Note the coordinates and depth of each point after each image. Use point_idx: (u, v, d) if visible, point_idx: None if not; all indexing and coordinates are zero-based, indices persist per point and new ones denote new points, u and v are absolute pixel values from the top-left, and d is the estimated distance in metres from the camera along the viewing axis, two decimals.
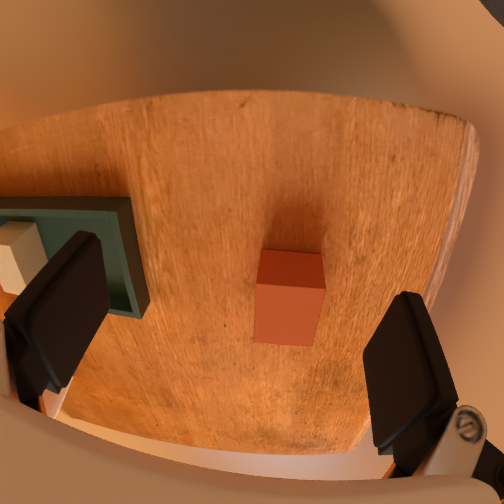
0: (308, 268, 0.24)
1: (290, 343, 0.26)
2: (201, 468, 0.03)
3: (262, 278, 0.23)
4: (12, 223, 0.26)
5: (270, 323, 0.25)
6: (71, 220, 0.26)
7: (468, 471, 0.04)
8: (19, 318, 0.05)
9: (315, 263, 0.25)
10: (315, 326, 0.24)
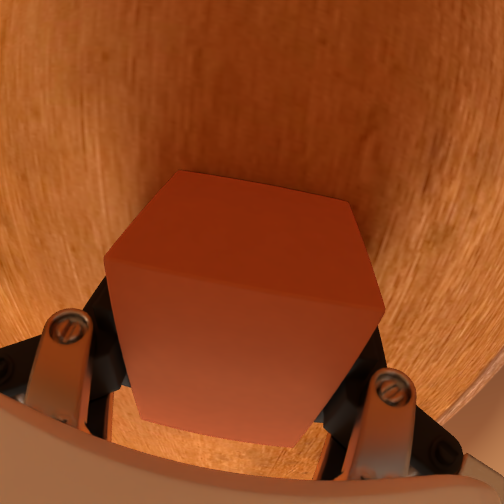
0: (315, 229, 0.07)
1: (236, 438, 0.08)
2: (201, 468, 0.03)
3: (136, 243, 0.06)
4: None
5: (174, 392, 0.07)
6: None
7: (386, 436, 0.05)
8: None
9: (336, 220, 0.08)
10: (313, 415, 0.07)
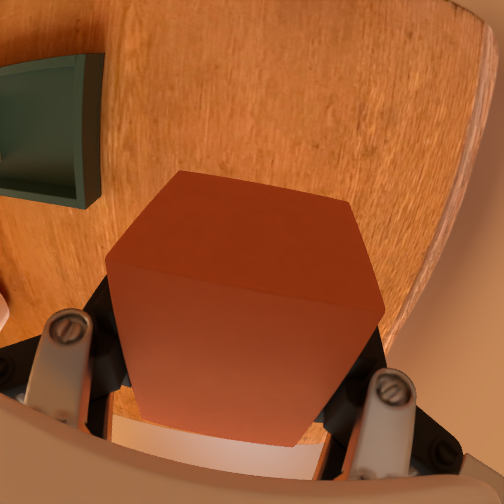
0: (315, 230, 0.07)
1: (237, 438, 0.09)
2: (201, 468, 0.03)
3: (137, 243, 0.06)
4: None
5: (175, 392, 0.07)
6: (34, 86, 0.18)
7: (386, 436, 0.05)
8: (112, 309, 0.06)
9: (336, 220, 0.08)
10: (314, 414, 0.07)
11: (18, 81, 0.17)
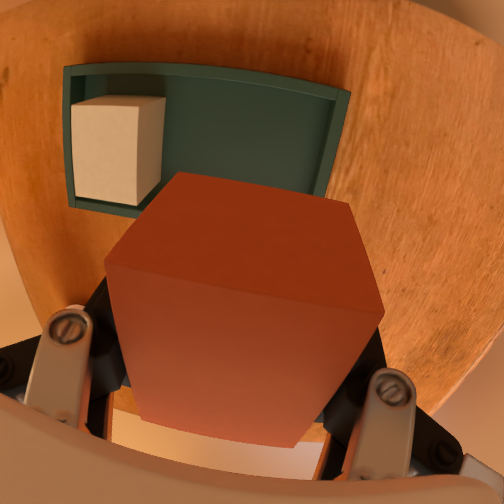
0: (315, 231, 0.07)
1: (236, 439, 0.09)
2: (201, 468, 0.03)
3: (136, 245, 0.06)
4: (119, 95, 0.19)
5: (174, 393, 0.07)
6: (240, 100, 0.19)
7: (386, 436, 0.05)
8: None
9: (336, 222, 0.08)
10: (313, 416, 0.07)
11: (211, 87, 0.19)
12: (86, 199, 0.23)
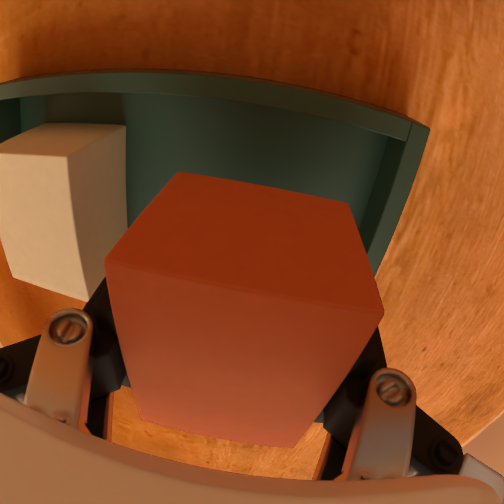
0: (315, 232, 0.07)
1: (236, 439, 0.09)
2: (201, 468, 0.03)
3: (136, 245, 0.06)
4: (59, 125, 0.12)
5: (174, 393, 0.07)
6: (243, 129, 0.12)
7: (386, 436, 0.05)
8: None
9: (335, 222, 0.08)
10: (313, 416, 0.07)
11: (195, 109, 0.12)
12: None
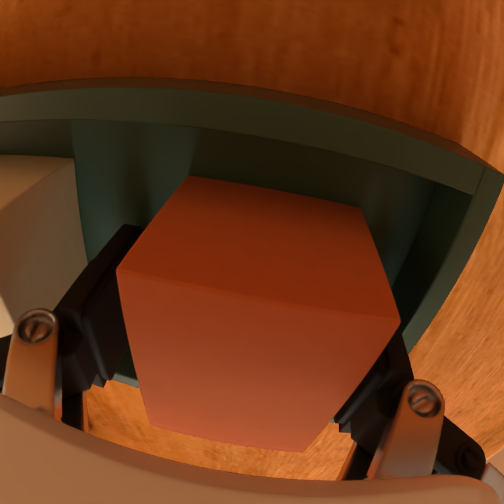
0: (329, 238, 0.07)
1: (246, 444, 0.08)
2: (201, 468, 0.03)
3: (149, 253, 0.05)
4: None
5: (186, 400, 0.07)
6: (232, 165, 0.08)
7: (420, 446, 0.05)
8: (77, 309, 0.06)
9: (349, 227, 0.07)
10: (325, 421, 0.07)
11: (162, 135, 0.08)
12: None
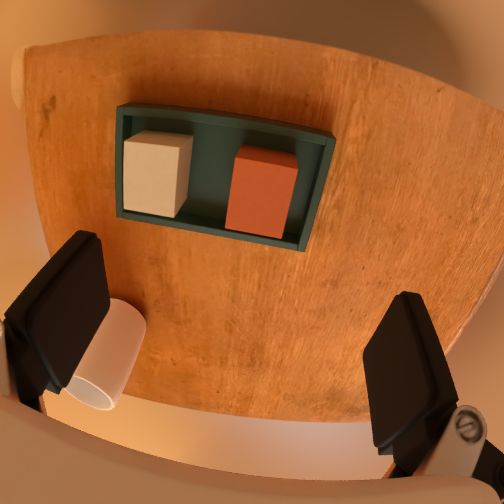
0: (283, 157, 0.26)
1: (260, 232, 0.27)
2: (201, 468, 0.03)
3: (241, 155, 0.24)
4: (156, 132, 0.27)
5: (243, 204, 0.26)
6: (256, 141, 0.27)
7: (468, 471, 0.04)
8: (19, 318, 0.05)
9: (290, 157, 0.27)
10: (286, 212, 0.26)
11: (234, 131, 0.27)
12: (132, 212, 0.31)
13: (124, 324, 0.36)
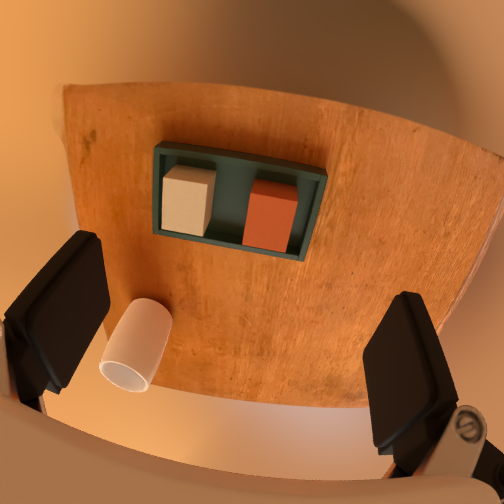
0: (287, 191, 0.34)
1: (269, 247, 0.36)
2: (201, 468, 0.03)
3: (255, 191, 0.33)
4: (186, 167, 0.36)
5: (256, 227, 0.35)
6: (265, 176, 0.36)
7: (468, 471, 0.04)
8: (19, 318, 0.05)
9: (292, 189, 0.35)
10: (289, 233, 0.35)
11: (249, 168, 0.36)
12: None
13: (155, 319, 0.45)
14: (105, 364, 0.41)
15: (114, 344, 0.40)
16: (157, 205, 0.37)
